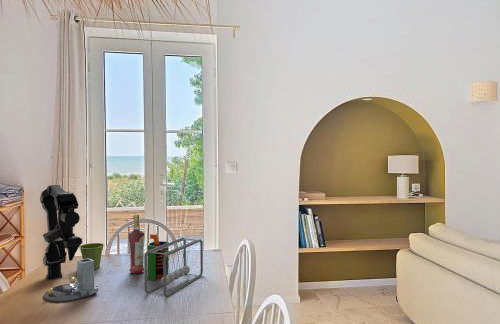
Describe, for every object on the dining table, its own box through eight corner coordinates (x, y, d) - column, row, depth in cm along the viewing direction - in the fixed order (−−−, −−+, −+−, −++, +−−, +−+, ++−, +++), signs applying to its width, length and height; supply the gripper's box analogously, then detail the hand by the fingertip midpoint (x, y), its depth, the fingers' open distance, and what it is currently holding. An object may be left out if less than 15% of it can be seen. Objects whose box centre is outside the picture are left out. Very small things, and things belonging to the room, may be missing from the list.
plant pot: (109, 266, 191) (109, 244, 191) (88, 272, 181) (88, 249, 181) (95, 262, 198) (94, 241, 197) (74, 268, 188) (73, 246, 187)
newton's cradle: (184, 272, 182) (184, 236, 181) (203, 275, 177) (203, 238, 177) (144, 294, 154) (143, 251, 153) (165, 298, 150) (164, 254, 149)
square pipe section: (70, 292, 154) (69, 260, 153) (91, 286, 161) (91, 256, 160) (79, 298, 148) (79, 265, 147) (101, 291, 155) (101, 260, 154)
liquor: (138, 275, 177) (138, 216, 176) (125, 274, 179) (125, 215, 179) (147, 271, 184) (147, 214, 183) (135, 269, 186) (134, 213, 186)
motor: (161, 281, 170) (161, 237, 169) (143, 279, 172) (143, 236, 171) (170, 274, 180) (170, 232, 179) (153, 272, 181) (153, 231, 181)
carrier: (43, 289, 159) (43, 280, 159) (92, 282, 169) (91, 273, 169) (44, 305, 143) (44, 295, 143) (97, 296, 152) (97, 286, 152)
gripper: (36, 222, 160) (37, 258, 160) (54, 228, 147) (54, 267, 148) (63, 218, 168) (64, 253, 169) (82, 223, 156) (83, 261, 156)
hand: (66, 258), depth 160 cm, fingers open, 9 cm apart
